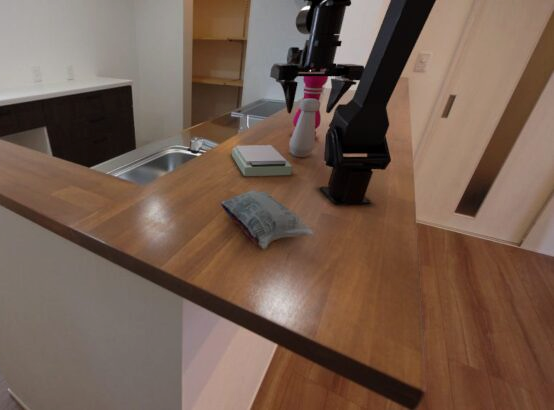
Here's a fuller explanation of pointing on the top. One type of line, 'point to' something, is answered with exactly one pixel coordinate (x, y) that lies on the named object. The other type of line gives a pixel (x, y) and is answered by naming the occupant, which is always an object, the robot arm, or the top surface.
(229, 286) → the top surface
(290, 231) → the packaged food
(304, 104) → the salt shaker
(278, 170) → the scale
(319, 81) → the pepper mill
